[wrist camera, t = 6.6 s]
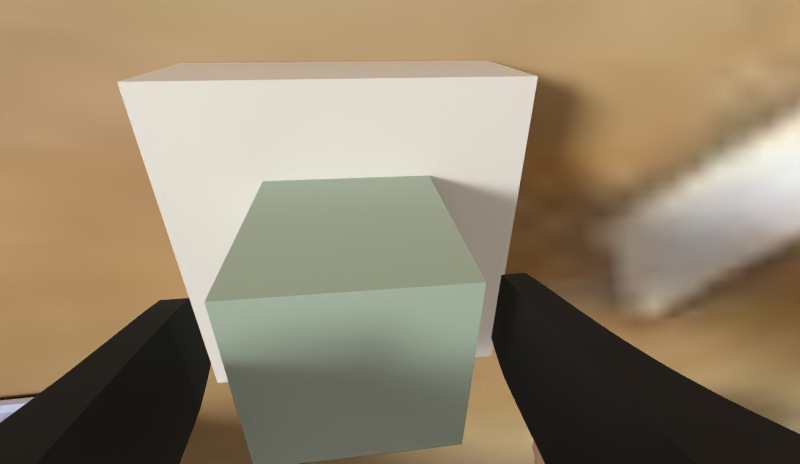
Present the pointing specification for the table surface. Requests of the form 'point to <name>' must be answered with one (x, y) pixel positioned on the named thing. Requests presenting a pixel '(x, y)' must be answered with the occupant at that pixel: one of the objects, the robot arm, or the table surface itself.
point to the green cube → (347, 319)
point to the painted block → (329, 149)
